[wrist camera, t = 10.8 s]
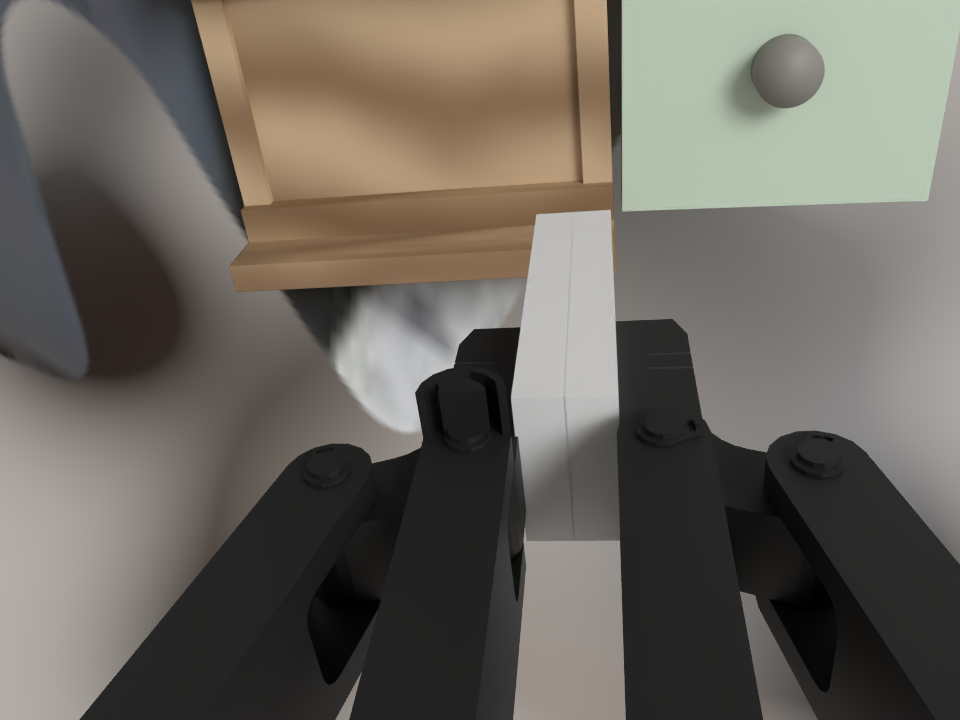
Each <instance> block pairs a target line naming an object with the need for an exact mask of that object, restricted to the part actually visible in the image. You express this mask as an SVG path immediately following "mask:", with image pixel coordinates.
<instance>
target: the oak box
mask: <svg viewBox="0 0 960 720" xmlns="http://www.w3.org/2000/svg"><path fill="white" fill-rule="evenodd" d="M191 2H192V6H193V9H194V13H195V17H196V21H197V25H198V29H199V33H200V36H201V40H202V44H203V48H204V52H205V56H206V60H207V63H208V67H209V71H210V75H211V79H212V83H213V87H214V90H215V94H216V98H217V102H218V106H219V110H220V114H221V117H222V121H223V125H224V129H225V133H226V137H227V141H228V144H229V148H230V152H231V156H232V160H233V164H234V168H235V171H236V175H237V179H238V183H239V187H240V191H241V194H242V198H243V202H244V207H243V208H242V209H241V214H242V217H243V221H244V225H245V229H246V233H247V237H248V240H249V243H248V244H247V245H246V246H245V248H244V249H243V250H242V251H241V253H240V254H239V255H238V256H237V257H236V259H235V260H234V261H233V262H232V263H231V265H230V266H229V268H230V271H231V275H232V278H233V282H234V285H235V289H236V292H245V291H264V290H284V289H304V288H324V287H344V286H363V285H383V284H403V283H422V282H442V281H462V280H482V279H501V278H521V277H528V271H529V264H530V257H531V250H532V243H533V235H534V228H535V221H536V214H550V213H566V212H583V211H599V210H611V229H612V252H613V273H616V252H615V232H614V231H615V230H614V207H613V179H612V148H611V117H610V86H609V55H608V25H607V0H191Z"/></svg>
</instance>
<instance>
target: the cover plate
mask: <svg viewBox="0 0 960 720" xmlns="http://www.w3.org/2000/svg"><path fill="white" fill-rule="evenodd" d="M959 32H960V0H621V201H622V211H647V210H676V209H703V208H733V207H761V206H789V205H816V204H846V203H873V202H902V201H927V200H928V197H929V191H930V186H931V181H932V175H933V170H934V165H935V159H936V154H937V149H938V144H939V138H940V133H941V128H942V122H943V117H944V111H945V106H946V100H947V95H948V90H949V84H950V79H951V74H952V69H953V64H954V58H955V52H956V48H957V42H958V37H959Z"/></svg>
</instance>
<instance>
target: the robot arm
mask: <svg viewBox="0 0 960 720" xmlns="http://www.w3.org/2000/svg"><path fill="white" fill-rule="evenodd" d="M415 394H416V400H417V405H418V411H419V417H420V422H421V428H422V433H423V442H422V446H421V448H419V449H418V450H415V451H413V452H411V453H409V454H407V455H404V456H401V457H397V458H394V459H390V460H385V461H381V462H377V463H373V464H372V463H371V459H370V455H369V454H368V453H366V452H365V451H364V450H363V449H362V448H359V447H357V446H353V445H350V444H329V445H325V446H320V447H316V448H313V449H311V450H309V451H307V452H305V453H303V454H301V455H299V456H298V457H297V458H296V459H295V460H293V461H292V462H291V463H290V464H289V465H288V466H287V467H286V468H285V470H284V471H283V472H282V473H281V474H280V476H279V477H278V478H277V479H276V481H275V482H274V483H273V484H272V485H271V487H270V488H269V489H268V490H267V492H266V493H265V494H264V495H263V496H262V498H261V499H260V500H259V501H258V503H257V504H256V505H255V506H254V508H253V509H252V510H251V511H250V512H249V514H248V515H247V516H246V517H245V518H244V520H243V521H242V522H241V523H240V524H239V526H238V527H237V528H236V529H235V531H234V532H233V533H232V534H231V536H230V537H229V538H228V539H227V540H226V542H225V543H224V544H223V545H222V546H221V548H220V549H219V550H218V551H217V553H216V554H215V555H214V556H213V557H212V559H211V560H210V561H209V562H208V564H207V565H206V566H205V567H204V568H203V570H202V571H201V572H200V573H199V575H198V576H197V577H196V578H195V580H194V581H193V582H192V583H191V584H190V586H189V587H188V588H187V589H186V590H185V592H184V593H183V594H182V595H181V596H180V598H179V599H178V600H177V601H176V603H175V604H174V605H173V606H172V607H171V609H170V610H169V611H168V613H167V614H166V615H165V616H164V617H163V618H162V620H161V621H160V622H159V623H158V625H157V626H156V627H155V628H154V630H153V631H152V632H151V633H150V634H149V636H148V637H147V638H146V639H145V640H144V642H143V643H142V644H141V645H140V647H139V648H138V649H137V650H136V651H135V653H134V654H133V655H132V656H131V658H130V659H129V660H128V661H127V662H126V664H125V665H124V666H123V667H122V669H121V670H120V671H119V672H118V673H117V675H116V676H115V677H114V678H113V679H112V681H111V682H110V683H109V684H108V686H107V687H106V688H105V689H104V691H103V692H102V693H101V694H100V695H99V697H98V698H97V699H96V700H95V701H94V703H93V704H92V705H91V706H90V708H89V709H88V710H87V711H86V712H85V714H84V715H83V716H82V717H81V718H80V720H335V719H336V717H337V715H338V714H339V712H340V710H341V708H342V706H343V705H344V703H345V701H346V699H347V697H348V695H349V694H350V692H351V690H352V688H353V686H354V685H355V683H356V681H357V679H358V677H359V675H360V674H361V672H362V674H361V677H360V681H359V685H358V689H357V693H356V696H355V701H354V704H353V708H352V712H351V715H350V719H349V720H513V713H514V702H515V690H516V678H517V666H518V654H519V643H520V631H521V618H522V607H523V595H524V583H525V571H526V562H525V552H524V544H523V538H524V528H526V538H527V541H575V540H576V541H584V540H585V541H587V540H589V541H595V540H620V548H621V549H620V550H621V582H622V611H623V644H624V674H625V705H626V720H763V717H762V711H761V706H760V701H759V695H758V689H757V684H756V678H755V673H754V668H753V662H752V656H751V651H750V645H749V640H748V635H747V629H746V623H745V618H744V612H743V607H742V601H741V596H740V591H741V592H745V593H749V594H753V595H755V596H756V599H757V603H758V607H759V609H760V611H761V613H762V615H763V617H764V619H765V621H766V622H767V624H768V626H769V628H770V630H771V632H772V634H773V636H774V637H775V639H776V641H777V643H778V645H779V647H780V649H781V651H782V653H783V655H784V656H785V658H786V660H787V662H788V664H789V666H790V668H791V670H792V672H793V673H794V675H795V677H796V679H797V681H798V683H799V685H800V686H801V689H802V691H803V692H804V694H805V696H806V698H807V700H808V702H809V704H810V706H811V707H812V709H813V711H814V713H815V715H816V717H817V719H818V720H960V565H959V563H958V562H957V561H956V560H955V559H954V557H953V556H952V555H951V554H950V552H949V551H948V550H947V549H946V548H945V546H944V545H943V544H942V543H941V542H940V540H939V539H938V538H937V537H936V536H935V535H934V533H933V532H932V531H931V530H930V529H929V527H928V526H927V525H926V524H925V523H924V521H923V520H922V519H921V518H920V517H919V515H918V514H917V513H916V512H915V511H914V509H913V508H912V507H911V506H910V505H909V503H908V502H907V501H906V500H905V499H904V497H903V496H902V495H901V494H900V493H899V491H898V490H897V489H896V488H895V487H894V485H893V484H892V483H891V482H890V481H889V479H888V478H887V477H886V476H885V475H884V473H883V472H882V471H881V470H880V469H879V467H878V466H877V465H876V464H875V463H874V461H873V460H872V459H871V458H870V457H869V456H868V454H867V453H866V452H865V451H864V450H862V449H861V448H860V447H859V446H857V445H856V444H855V443H854V442H853V441H850V440H848V439H845V438H843V437H841V436H838V435H836V434H831V433H825V432H820V431H798V432H794V433H791V434H787V435H784V436H781V437H779V438H778V439H777V440H776V441H774V442H773V443H772V444H771V445H770V446H769V449H768V451H767V453H765V452H761V451H755V450H750V449H746V448H742V447H738V446H734V445H732V444H730V443H728V442H725V441H723V440H721V439H720V438H718V437H717V436H715V435H714V434H712V433H711V431H710V429H709V427H708V426H707V423H706V422H705V420H703V419H702V415H701V409H700V404H699V398H698V392H697V387H696V381H695V375H694V369H693V364H692V358H691V354H690V347H689V342H688V335H687V333H686V332H685V331H684V330H683V329H682V328H681V327H680V326H679V325H678V324H677V323H676V322H675V321H674V320H673V319H663V320H638V321H615V300H614V277H613V252H612V229H611V210H599V211H583V212H566V213H550V214H536V221H535V228H534V235H533V243H532V250H531V257H530V264H529V271H528V279H527V286H526V293H525V301H524V307H523V315H522V322H521V327H518V328H493V329H474V330H473V331H472V332H471V333H470V334H469V335H468V336H467V337H466V338H465V339H464V340H463V341H462V342H461V343H460V344H459V348H458V352H457V356H456V360H455V364H454V368H451V369H447V370H444V371H442V372H439V373H436V374H434V375H432V376H431V377H429V378H428V379H426V380H425V381H423V382H422V383H421V384H420V386H419V388H418V389H417V391H416V392H415Z"/></svg>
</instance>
